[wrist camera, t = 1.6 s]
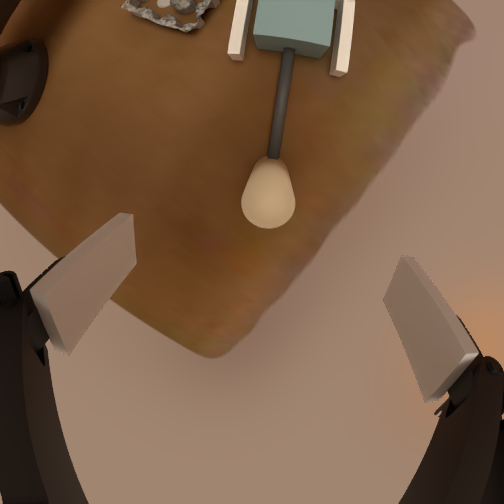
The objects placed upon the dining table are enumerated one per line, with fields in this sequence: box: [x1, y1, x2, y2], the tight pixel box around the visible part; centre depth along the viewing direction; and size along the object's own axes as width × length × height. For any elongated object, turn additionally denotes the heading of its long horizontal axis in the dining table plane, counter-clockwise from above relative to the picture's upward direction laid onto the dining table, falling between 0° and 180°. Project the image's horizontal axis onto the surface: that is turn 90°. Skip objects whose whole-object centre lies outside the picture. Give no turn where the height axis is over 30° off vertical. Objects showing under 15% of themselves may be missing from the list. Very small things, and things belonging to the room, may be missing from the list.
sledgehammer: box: [241, 0, 335, 228], centre depth 21 cm, size 7×24×12 cm, turn 172°
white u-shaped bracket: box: [228, 0, 355, 77], centre depth 21 cm, size 12×10×4 cm
